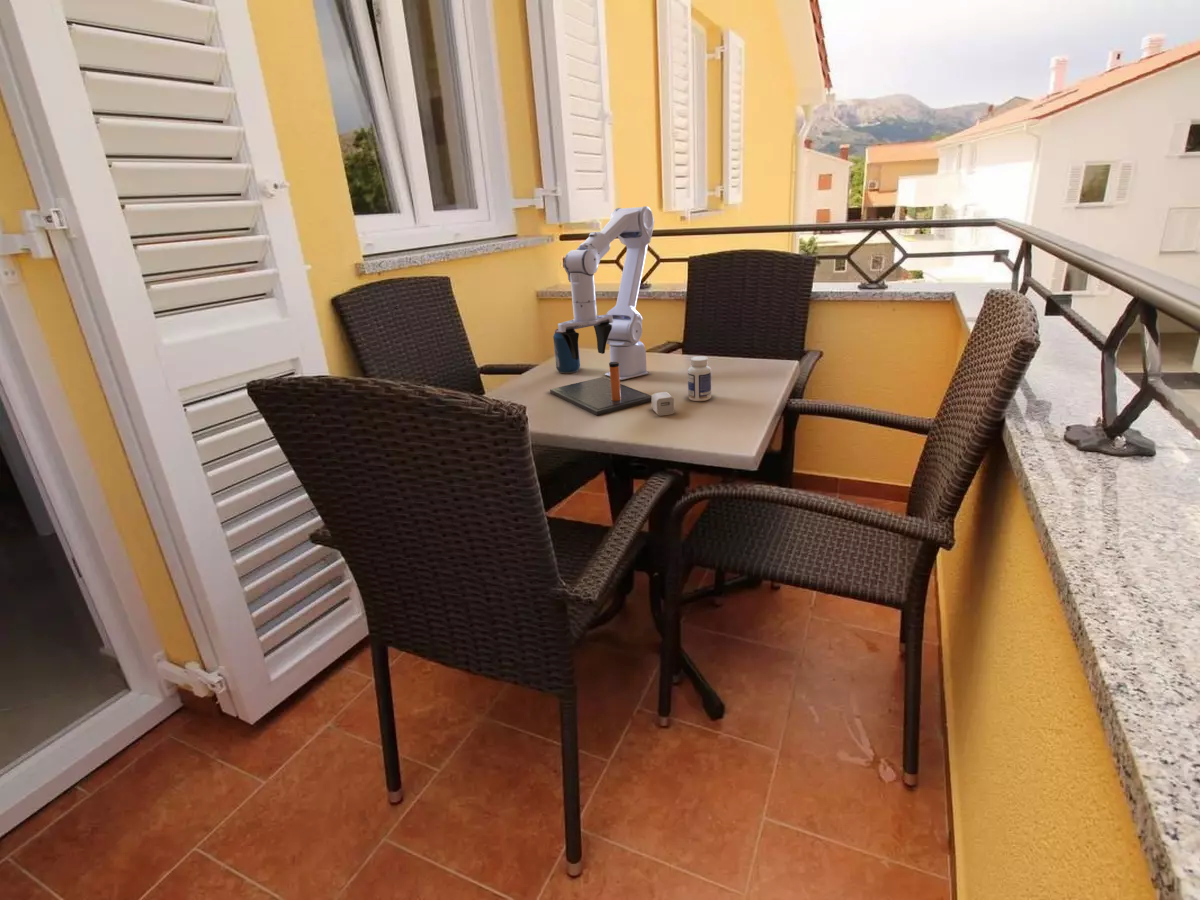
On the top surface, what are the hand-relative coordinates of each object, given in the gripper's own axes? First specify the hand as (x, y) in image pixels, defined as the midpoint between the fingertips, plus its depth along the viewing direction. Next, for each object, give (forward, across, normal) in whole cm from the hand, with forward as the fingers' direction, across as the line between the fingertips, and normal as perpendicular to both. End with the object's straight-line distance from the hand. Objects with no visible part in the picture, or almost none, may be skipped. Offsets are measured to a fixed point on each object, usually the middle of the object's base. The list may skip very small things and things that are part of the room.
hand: (588, 355), depth 157 cm
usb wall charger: (+10, +4, -24) cm, 27 cm away
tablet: (+9, -1, -5) cm, 11 cm away
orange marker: (+8, -1, -13) cm, 16 cm away
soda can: (+10, +6, +22) cm, 25 cm away
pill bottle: (+10, +16, -24) cm, 30 cm away
